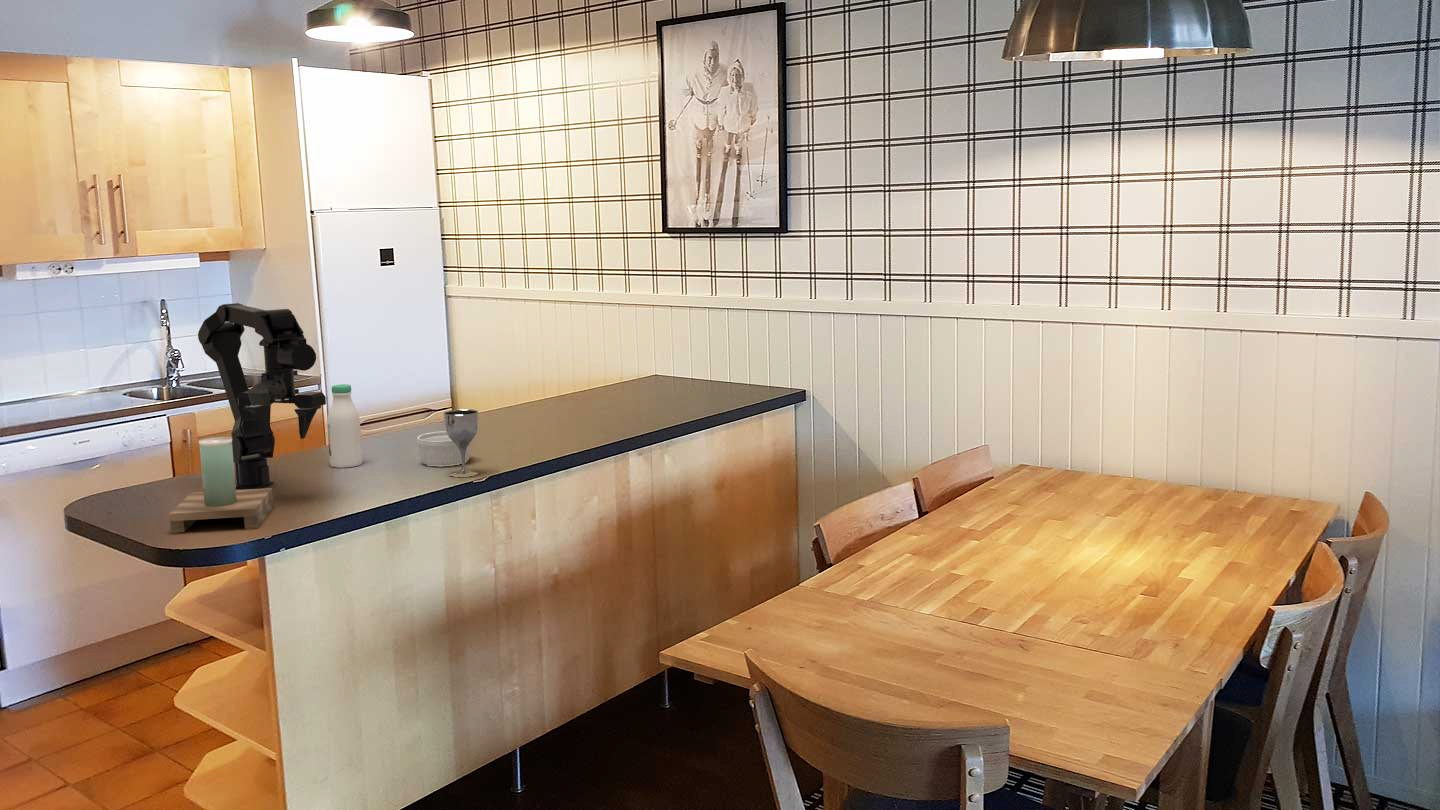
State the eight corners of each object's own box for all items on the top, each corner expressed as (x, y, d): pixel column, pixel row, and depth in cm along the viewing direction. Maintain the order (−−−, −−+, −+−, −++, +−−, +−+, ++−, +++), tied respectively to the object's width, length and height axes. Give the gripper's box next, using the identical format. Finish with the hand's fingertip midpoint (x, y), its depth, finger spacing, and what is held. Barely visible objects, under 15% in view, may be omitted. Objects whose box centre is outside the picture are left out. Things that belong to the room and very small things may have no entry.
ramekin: (458, 469, 282) (457, 441, 281) (408, 467, 285) (407, 439, 283) (481, 458, 294) (480, 431, 293) (433, 456, 297) (432, 430, 296)
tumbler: (200, 502, 235) (194, 439, 233) (230, 497, 239) (225, 435, 237) (210, 508, 230) (204, 443, 228) (241, 502, 234) (236, 439, 232)
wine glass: (473, 478, 271) (469, 415, 269) (441, 477, 273) (437, 414, 271) (486, 471, 279) (483, 409, 277) (455, 470, 281) (452, 409, 278)
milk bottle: (369, 463, 290) (364, 383, 287) (347, 469, 283) (342, 388, 280) (345, 460, 293) (340, 382, 290) (323, 466, 286) (317, 386, 283)
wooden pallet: (193, 511, 244) (191, 492, 244) (273, 506, 247) (272, 488, 247) (171, 533, 227) (169, 513, 226) (257, 528, 230) (256, 508, 229)
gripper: (217, 371, 247) (223, 443, 250) (293, 373, 242) (298, 446, 245) (252, 364, 258) (257, 433, 260) (325, 366, 253) (329, 436, 255)
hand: (284, 437), depth 255 cm, fingers open, 9 cm apart
